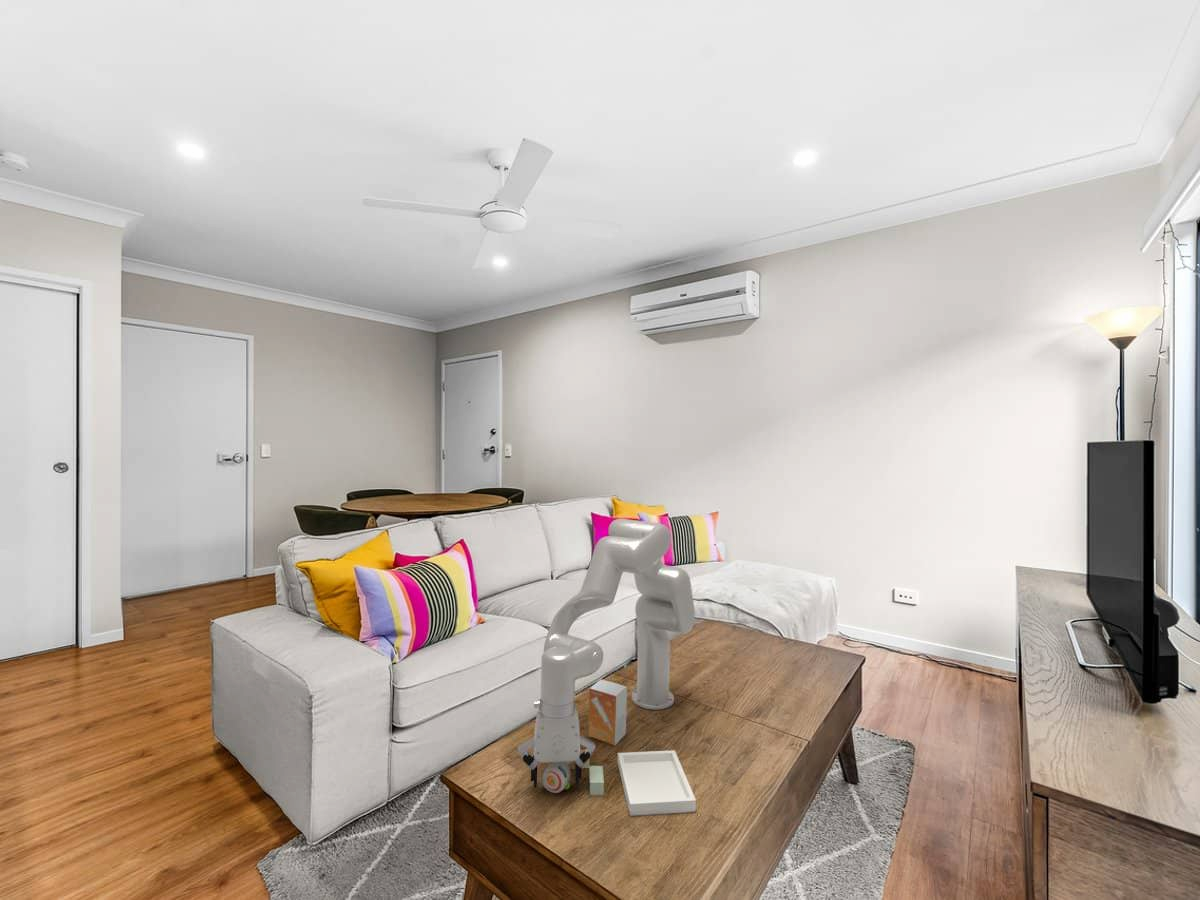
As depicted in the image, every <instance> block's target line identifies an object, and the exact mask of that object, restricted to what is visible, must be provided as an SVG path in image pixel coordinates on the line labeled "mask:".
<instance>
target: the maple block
mask: <svg viewBox="0 0 1200 900" xmlns="http://www.w3.org/2000/svg"><path fill="white" fill-rule="evenodd" d="M585 750H586V749H580V754H582V753H583V752H584V751H585ZM590 760H591V757H590V758H589V759H588V760H587V761H586V762H585V763H584V765H583V767H582V768H589V766H591V765H590V763H591V762H590ZM566 763H567V765H568V766H569V768H570V769H573V770H575V761H570V762H566Z"/></svg>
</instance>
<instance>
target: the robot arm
mask: <svg viewBox="0 0 1200 900" xmlns="http://www.w3.org/2000/svg"><path fill="white" fill-rule="evenodd" d="M608 535H609V536H603V537H602V538H600V539H599V540H598V542H597V543H596V544H595V548H594V550H593V553H592V556H591V559H590V563H589V566H588V568H587V572H586V574H585V577H584V580H583V584H582V586H581V589H580V590H579V591H578V593H576V594H575V595H574V596H572V597H571V598H570V599H568V601H567V602H565V603H564V604H563V605H562V606H561V607H560V609H559V610H558V611H557V612H556V614H555V615H554V617H553V619H552V621H551V624H550V626H549V628H548V631H547V635H546V637H545V641H544V645H543V653H542V655H541V660H540V661H541V662H540V664H541V665H540V666H541V667H540V669H541V671H540V698H539V700H537V701H533V703H534V704H533V708H534V709H538V710H537V714H536V718H535V725H534V732H533V733H534V736H533V737H531V738H529V739H528V740H525V741H524V742H522V743H521V744H519V745H518V746H517V747H518V748H517V753H519V755H520V757H521V758H522V761H523V762H524V763H525V764H526V765H527V766H528V767H529V770H530V782H533V788H538V765H539V764H540V763H542V764H545V763H547V764H549V763H551V762H570V761H575V769H574V781H575V785H576V786H579V785H580V780H581V779H583V769H582V767H583V765H584V763H585V762H586V761H587V760H588V759H589V758H590V759H591V755H592V754H593V752H594V750H596V744H595V742H594V741H592V740H590V739H588V738H586V737H585V736H583V735H581V728H580V718H579V712H578V710H577V708H576V707H575V702H576V701H575V699H576V698H575V697H576V696H575V693H576V690H575V689H576V681H577V680H579V679H582V678H585V677H588V676H591V675H594V674H595V673H596V672H598V670H599V669H600V668H601V666H602V664H603V661H604V651H603V649H602V647H601V646H600V645H599V644H598V643H596V642H594V641H591V640H588V639H585V638H580V637H576V636H573V635H571V634H569V632H570V629H571V628H572V626H573V624H574V623H575V621H577V620H578V618H580V617H581V616H582V615H584V614H586V613H589V612H592V611H595V610H599V609H603V608H606V607H609V606H611V605H612V604H613V603H614V601H615V598H616V596H617V595H616V594H617V591H618V588H619V584H620V582H621V578H622V575H623V573H630V574H633V575H634V576H633V577H634V582H635V586H636V589H637V591H638V593H640V594H641V595H640V596H639V597H638V598H637V600H636V604H635V607H634V608H635V609H634V610H635V619H636V624H637V668H636V669H637V672H636V674H637V677H636V678H637V679H636V689H634V690H633V691H632V692H631V701H632V702H633V703H634V704H635V705H636V706H638V707H641V708H643V709H645V710H646V709H647V710H651V711H652V710H654V711H655V710H656V711H658V710H659V711H660V710H664V709H665V710H666V709H667V708H669V707H671V706H673V704H675V702H674V701H675V696H674V694H673V693H672V692H671V691H670V668H671V667H670V665H671V664H670V663H671V660H670V659H671V640H670V638H669V637H670V636H669V634H668V631H669V632H672V633H676V634H687V633H689V632H690V631H691V630H692V629H693V628H694V624H695V619H696V617H695V616H696V614H695V605H694V604H695V603H694V599H693V598H694V597H693V596H694V595H693V590H692V583H691V577H690V576H689V574H688V572H687V571H686V570H685V569H683V568H682V567H677V566H672V565H666V564H665V563H663V561H662V558H663V557H664V556H665V555H666V554H667V552H668V550H669V548H670V546H671V543H672V535H671V531H670V529H669V528H668V527H667V526H666V525H665V524H662V523H658V522H652V521H651V522H650V521H649V522H648V521H643V520H635V519H628V518H617V519H615V520H612V522H611V523H610V524H609V526H608ZM581 746H583V747H585V748H586V749H584V750H585V751H584V752H583V753H582V754H580V750H581ZM531 748H533V753H532V755H531V754H529V753H528V750H529V749H531Z"/></svg>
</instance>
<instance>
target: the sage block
mask: <svg viewBox="0 0 1200 900" xmlns="http://www.w3.org/2000/svg"><path fill="white" fill-rule="evenodd" d="M588 770H589V771H588V775H589V776H588V777H589V778H588V779H589V781H588V782H589V783H590V785H589V796H604V794H605V792H604V791H605V790H604V789H605V788H604V787H605V781H604V779H605V778H604V767H603V765H589V769H588Z"/></svg>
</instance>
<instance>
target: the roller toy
mask: <svg viewBox="0 0 1200 900" xmlns="http://www.w3.org/2000/svg"><path fill="white" fill-rule="evenodd" d="M571 777H572V772H571V770H570V768H569V766H568V765H567V763H566V762H551V763H547V765H546V767H545V768H544V769H543V771H542V773H541V786H542V787H543V788H544V789H546V790H547V791H549V792H550V793H551V794H552V793H553V794H559V793H561V792H562V791H563V790H569V788H570V787H571V783H570V780H571Z"/></svg>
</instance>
